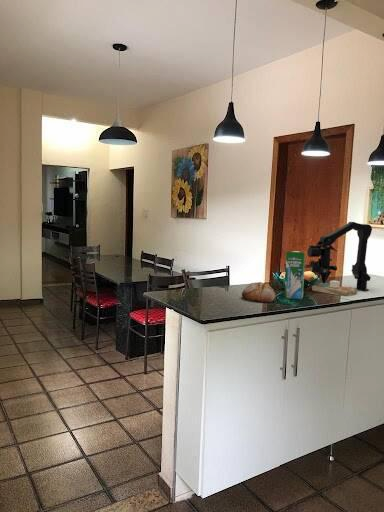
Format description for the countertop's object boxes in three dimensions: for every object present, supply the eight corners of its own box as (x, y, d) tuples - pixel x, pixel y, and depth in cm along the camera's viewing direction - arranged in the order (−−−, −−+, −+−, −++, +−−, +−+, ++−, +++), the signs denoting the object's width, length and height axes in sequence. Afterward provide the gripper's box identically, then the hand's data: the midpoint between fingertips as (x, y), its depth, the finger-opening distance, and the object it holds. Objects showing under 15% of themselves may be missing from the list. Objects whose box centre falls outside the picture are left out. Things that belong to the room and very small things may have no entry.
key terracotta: (344, 291, 236) (344, 285, 236) (350, 293, 233) (351, 286, 233) (340, 292, 233) (340, 286, 233) (347, 293, 230) (347, 287, 230)
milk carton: (303, 296, 223) (305, 250, 221) (301, 299, 215) (304, 252, 212) (286, 295, 226) (288, 250, 224) (284, 298, 218) (286, 251, 215)
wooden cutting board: (322, 288, 251) (323, 284, 250) (357, 293, 234) (357, 289, 234) (311, 290, 243) (312, 286, 242) (346, 296, 226) (347, 291, 226)
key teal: (322, 288, 246) (322, 282, 246) (328, 289, 243) (328, 283, 243) (318, 288, 244) (319, 282, 243) (324, 289, 241) (325, 283, 240)
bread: (259, 306, 201) (258, 286, 200) (234, 298, 218) (234, 280, 217) (283, 301, 210) (283, 282, 208) (258, 294, 226) (258, 276, 225)
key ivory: (333, 286, 241) (333, 280, 241) (339, 287, 238) (339, 281, 238) (329, 287, 238) (329, 280, 238) (335, 288, 235) (336, 281, 235)
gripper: (321, 255, 254) (320, 279, 255) (304, 256, 242) (303, 282, 243) (338, 256, 245) (336, 282, 247) (321, 258, 233) (319, 285, 235)
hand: (323, 283), depth 243 cm, fingers closed, pressing on key teal
